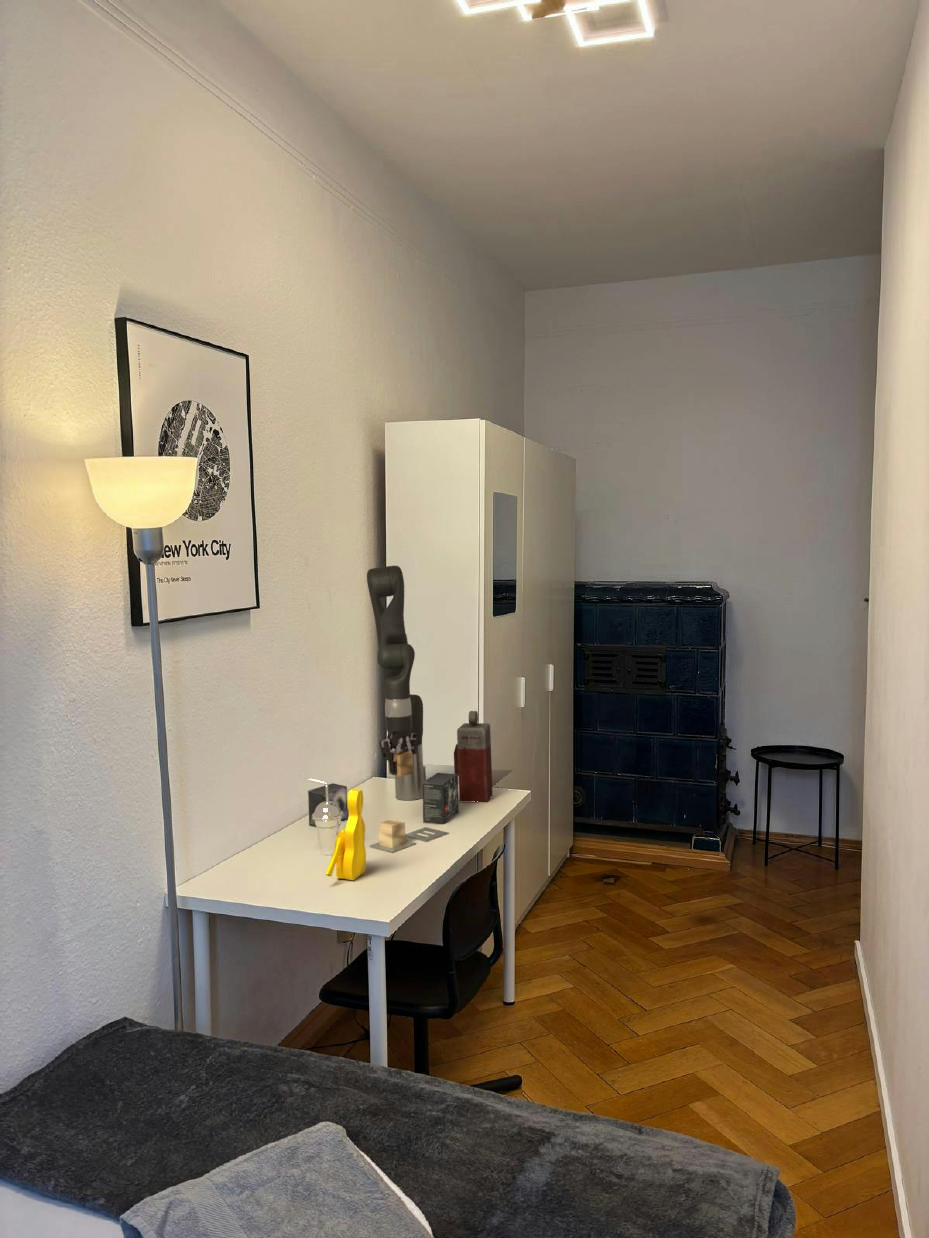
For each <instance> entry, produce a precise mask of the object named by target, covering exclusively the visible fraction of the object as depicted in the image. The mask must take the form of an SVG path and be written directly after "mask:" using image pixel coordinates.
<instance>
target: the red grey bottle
mask: <svg viewBox="0 0 929 1238" xmlns="http://www.w3.org/2000/svg"><path fill="white" fill-rule="evenodd" d="M456 740H457V742H456V744H455V746H454V747H455V748H454V750H453V767H454V770H453V771H454V772H453V774H458V801H459V802H460V801H475V802H474V803H479V802H487V803H489V801H490V800H489V799H491V798H492V797H493V795H492V794H493V768H492V765H493V764H492V745H491V744H492V743H491V742H492V741H491V725H490V723H481V722H480V723H479V713H478V711H477V710H469V712H468V722H466V723H465V722H464V723H463V724H462V725H461V726H459V728H457V730H456ZM491 796H492V797H491ZM490 797H491V798H490ZM477 801H478V802H477Z"/></svg>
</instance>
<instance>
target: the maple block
mask: <svg viewBox="0 0 929 1238" xmlns="http://www.w3.org/2000/svg"><path fill="white" fill-rule="evenodd" d="M405 834H406V821H402V820H399V819H394V818H391V819H387V820H384V821H382V822H379V823H378V838H379V839H378V840H379V841H378V842H380V845H382V846H385V847H389V848H395V847H398V846H401V845H403V844H406V841H407V840H406V838H407V837H406V836H405Z"/></svg>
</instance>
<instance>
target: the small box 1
mask: <svg viewBox="0 0 929 1238" xmlns="http://www.w3.org/2000/svg"><path fill="white" fill-rule="evenodd" d="M307 795H308V796H307V797H308V825H309V826H311V827H315V828H316V825H315V820H313V819H312V814H313V813H315V809H316V807H317V806H318V805H319V804H320V803H322V802H324V801H326V788H325V785H321V786H319V787H316V788H313V789H309V790H307ZM328 795H329V801H331V802H334V803H336V804H337V805H338V806H339V808H340V811H342V812H343V815H344V816H343V817H342V818H341V821H343V822H345V820H346V821H348V818H349V811H348V804H347V801H348V786H347V785H343V784H337V783H333V782H332V783H329V784H328Z"/></svg>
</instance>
